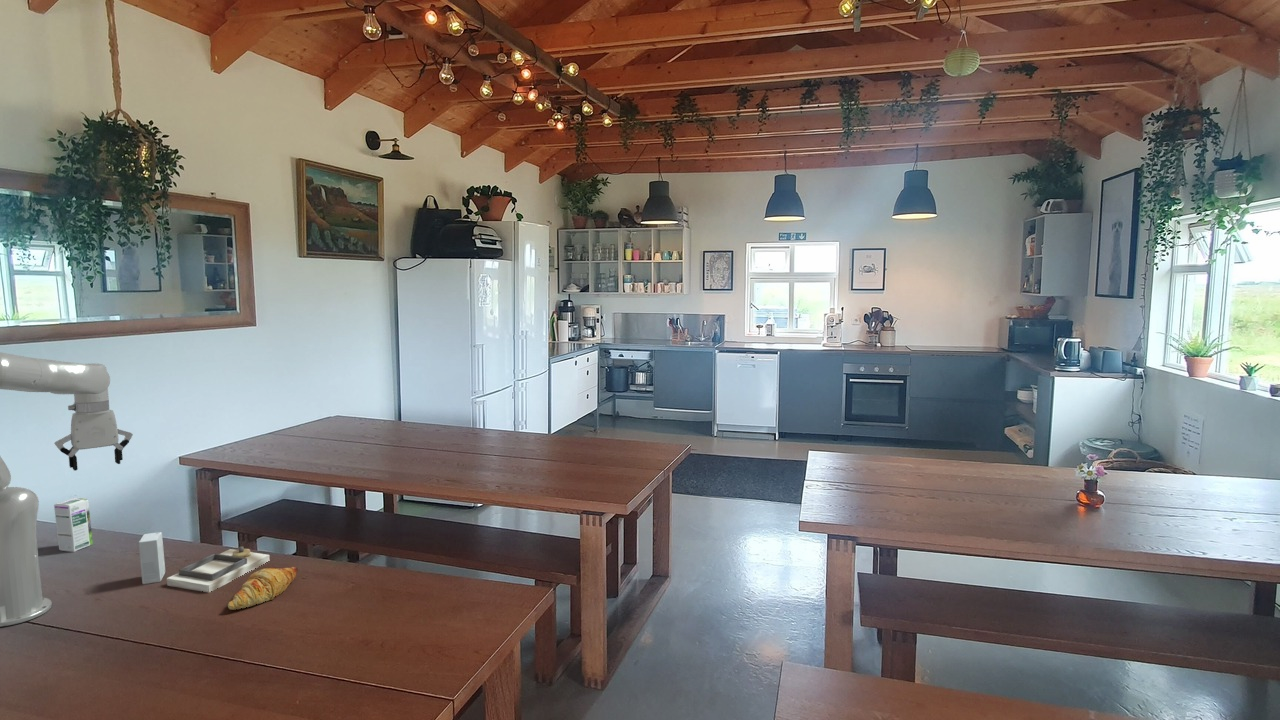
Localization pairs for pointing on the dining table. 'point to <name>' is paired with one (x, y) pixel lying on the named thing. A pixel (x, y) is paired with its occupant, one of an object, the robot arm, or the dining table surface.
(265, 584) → the croissant
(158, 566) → the skincare box
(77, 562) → the dining table surface
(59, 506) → the syrup box
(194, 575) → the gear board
